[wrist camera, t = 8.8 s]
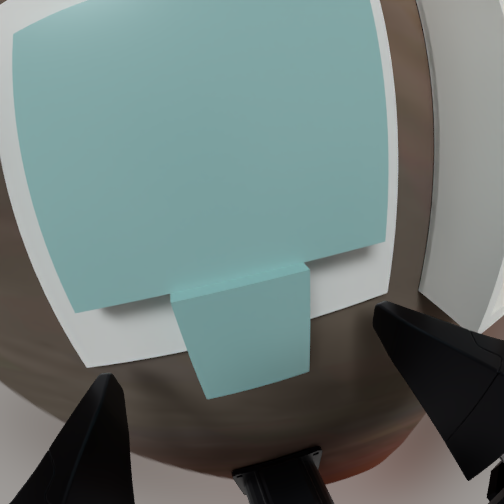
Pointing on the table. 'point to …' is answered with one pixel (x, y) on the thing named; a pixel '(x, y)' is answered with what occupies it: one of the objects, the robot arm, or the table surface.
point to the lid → (205, 163)
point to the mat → (159, 308)
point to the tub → (466, 160)
